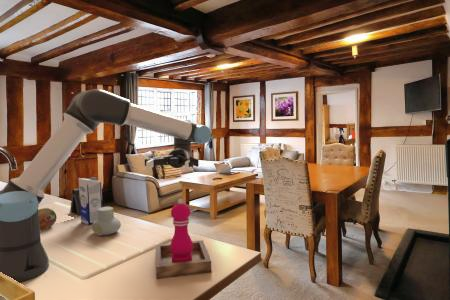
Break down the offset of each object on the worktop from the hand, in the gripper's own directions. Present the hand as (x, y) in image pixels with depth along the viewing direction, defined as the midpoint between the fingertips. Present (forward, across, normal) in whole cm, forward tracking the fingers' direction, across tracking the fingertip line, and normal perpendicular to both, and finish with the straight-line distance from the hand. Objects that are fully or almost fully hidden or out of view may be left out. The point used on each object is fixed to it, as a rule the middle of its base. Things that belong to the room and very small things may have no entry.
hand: (166, 166), depth 110 cm
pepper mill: (+13, -7, -28) cm, 32 cm away
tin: (-15, +58, -30) cm, 67 cm away
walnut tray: (+13, -7, -29) cm, 33 cm away
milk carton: (-24, +39, -29) cm, 55 cm away
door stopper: (-38, +51, -29) cm, 70 cm away
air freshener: (-12, +27, -29) cm, 42 cm away
